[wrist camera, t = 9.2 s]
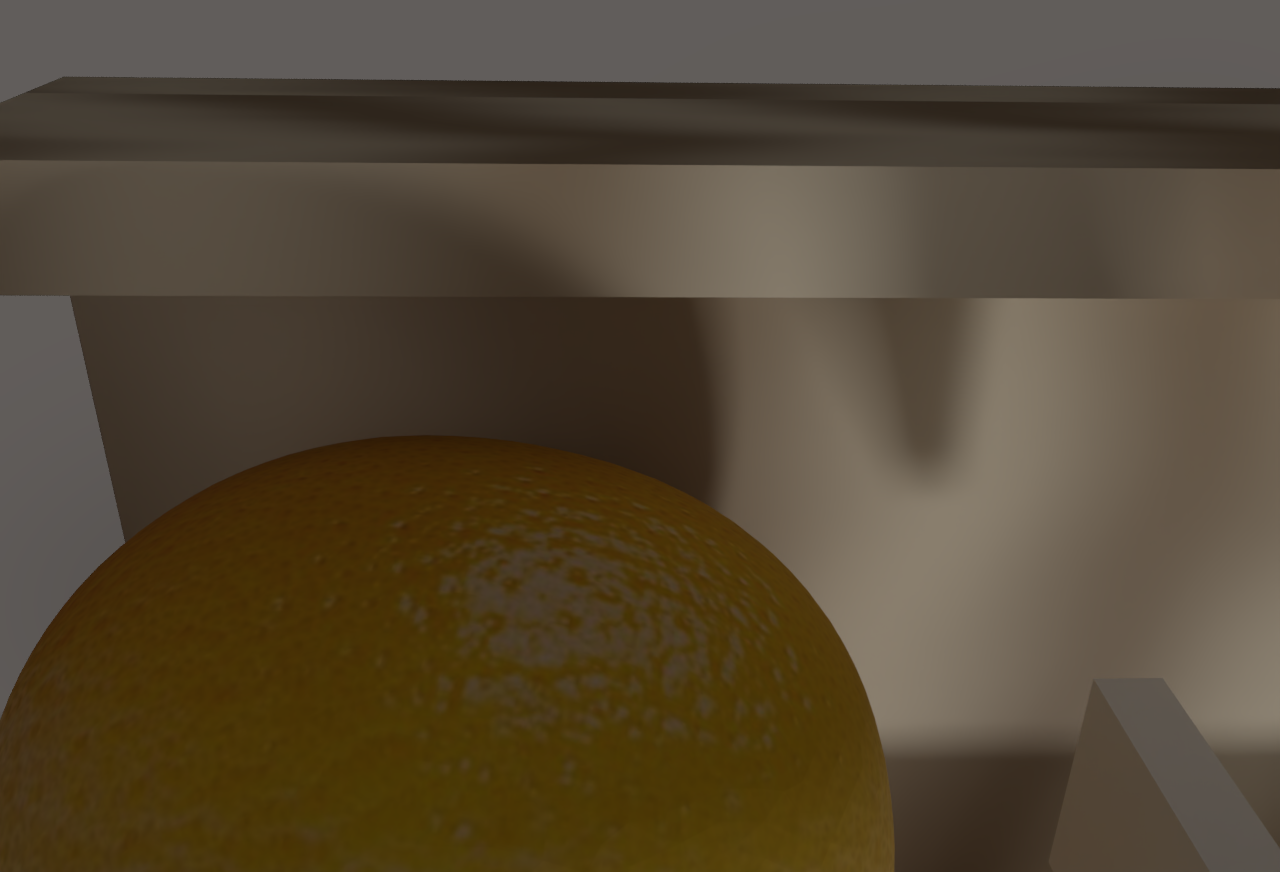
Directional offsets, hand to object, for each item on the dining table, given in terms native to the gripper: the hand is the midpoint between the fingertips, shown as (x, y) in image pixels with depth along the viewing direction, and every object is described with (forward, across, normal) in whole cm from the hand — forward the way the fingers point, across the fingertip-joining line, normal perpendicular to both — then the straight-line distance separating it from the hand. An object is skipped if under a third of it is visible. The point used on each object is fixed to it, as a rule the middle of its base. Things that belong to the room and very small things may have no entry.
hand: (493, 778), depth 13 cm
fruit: (+3, 0, 0) cm, 3 cm away
